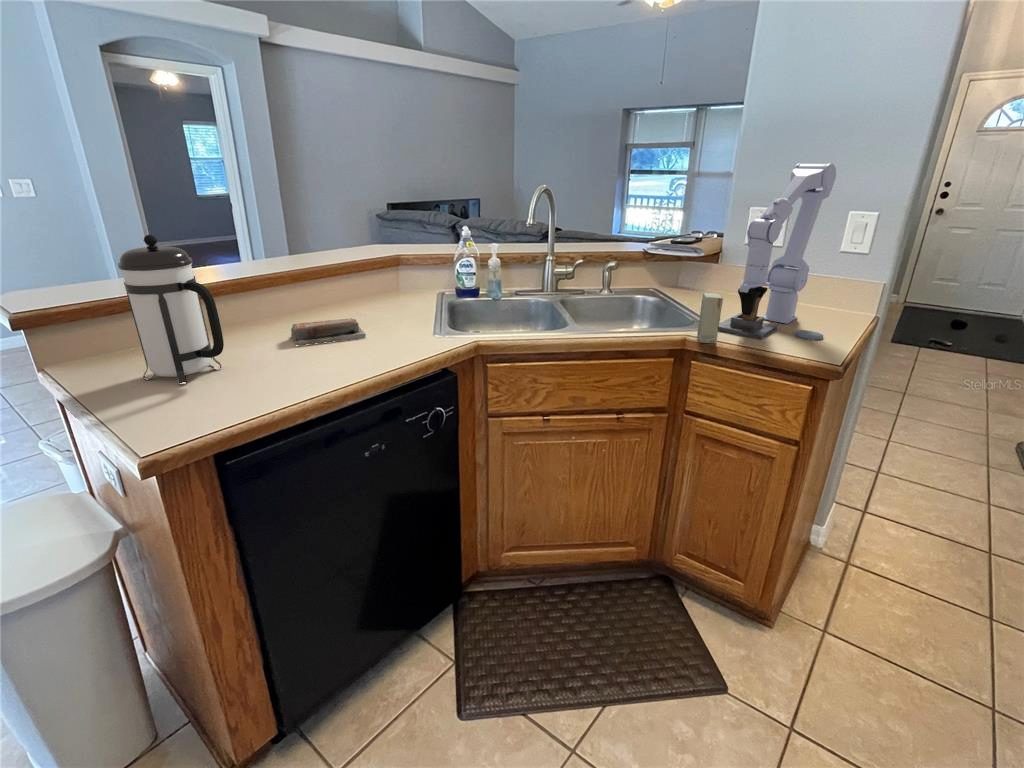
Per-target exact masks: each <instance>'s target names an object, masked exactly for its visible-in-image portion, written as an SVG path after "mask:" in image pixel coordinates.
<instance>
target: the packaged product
mask: <svg viewBox="0 0 1024 768" xmlns="http://www.w3.org/2000/svg"><path fill="white" fill-rule="evenodd" d="M290 331H291V333H290V336H291V339H292V341H293V344H294V346H295V345H306V344H315V343H324V342H332V343H334V342H333V341H340V342H343V341H342V340H347V341H352V340H351V339H355V340H360V339H359V338H362V339H365V338H366V337H367V336H366V332H364V330H362V328H361V327H360V326H359V322H358V321H357V319H356V318H342V319H330V320H329V319H328V320H318V321H310V322H308V321H307V322H299V323H293V324H292V327H291V329H290ZM364 337H365V338H364ZM324 344H325V343H324Z"/></svg>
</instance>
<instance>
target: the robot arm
mask: <svg viewBox="0 0 1024 768" xmlns="http://www.w3.org/2000/svg"><path fill="white" fill-rule="evenodd" d="M836 177H837V168H836V166H835V164H834V163H832V162H830V163H802V162H800V163H797V164H796V165H795V166H794V167H793V169H792V171H791V174H790V183H789V184H788V185H787V187H786V189H785V190H784V192H783V194H782V195H781V197H780V198H776V199H774V200H773V201H772V202H771V203H770V204H769V205H768V207H767V208H766V210H765V211H764V212H763V213H762V214H761V216H760V217H759V218H756V219H754V220H752V221H751V222H750V224H749V225H748V229H747V231H746V236H747V244H746V245H747V247H748V252H747V257H746V263H745V268H744V275H743V278H742V281H741V284H740V286H739V287H740V288H738V289H737V293H738V296H739V299H740V305H741V313H742V314H743V315H748V316H749V315H750V314H751V312H752V310H753V306H754V303H755V301H756V299H757V297H760V301H759V303H760V302H761V300H762V298H763V296H764V295H765V294H766V292H767V291H768V290H770V291H769V297H768V302H767V307H766V312H765V314H764V315H762V316H761V317H764V320H765V321H770V322H776V323H782V324H791V322H793V321H794V320H796V319H798V318H799V317H798V316H797V315H795V314H796V310H797V304H798V301H799V294H798V292H801V291H802V290H803V289H804V288H805V287H806V285H807V283H808V277H809V271H810V266H809V265H808V263H807V262H806V261H805V260H804V258H803V257H804V254H805V251H806V249H807V245H808V243H809V240H810V237H811V234H812V231H813V229H814V225H815V224H816V221H817V218H818V214H819V211H820V209H821V207H822V203H823V200H825V199H827V198H829V197H830V194H831V193H832V189H833V187H834V184H835V182H836V179H837V178H836ZM799 198H800V199H801V204H800V207H799V210H798V214H797V217H796V219H795V222H794V225H793V228H792V231H791V234H790V236H789V240H788V242H787V245H786V248H785V251H784V254H783V255H781V256H780V257H778V258H776V259H774V260H773V261H772V264H771V266H770V261H771V258H772V253H773V252H772V251H773V246H774V243H775V242H776V241H777V240H778V239H779V236H780V234H781V232H782V229H783V224H784V223H785V221H787V219H788V218H789V217H790V215H791V214H792V213H793V205H794V204H795V203H796V201H798V199H799Z"/></svg>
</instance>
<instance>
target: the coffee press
mask: <svg viewBox="0 0 1024 768" xmlns="http://www.w3.org/2000/svg"><path fill="white" fill-rule="evenodd" d="M143 242H144V243H145V244H146V245H147V246H145V247H137V248H133V249H129V250H127V251H125V252H124V253H122V254H121V256H120V258H119V262H118V263H117V267H118V269H119V270H120V271H121V273H122V276H123V280H124V282H123V284H124V289H125V292H126V295H127V299H128V303H129V308H130V310H131V315H132V317H133V321H134V324H135V329H136V332H137V336H138V338H139V343H140V346H141V349H142V350H141V351H142V354H143V357H144V361H145V365H146V370H145V372H144V373H143V379H144V378H145V377H146V376H145V375H147V372H148V370H149V371H150V372H151V373H152V375H153V376H152V375H151V376H152V377H153V378H154V377H155V376H159V377H165V378H166V377H168V378H170V377H177V381H178V384H179V383H182V382H187V378H186V377H187V375H193V374H195V373H198V372H201V371H203V370H205V369H207V368H211V369H213V370H215V369H214V367H215V366H214V365H211V364H212V362H213V361H214V362H215V363H216V364H217V365H219V367H220V368H221V369H222V364H221V362H219V361H218V360H217V359H216V358H215V357H218V356H220V355H221V354H222V352H223V349H224V345H225V344H224V342H225V341H224V336H223V331H222V326H221V321H220V317H219V313H218V309H217V305H216V302H215V299H214V297H213V295H212V294H211V292H210V290H209V289H208V288H207V287H206V286H204V284H201V283H199V282H197V280H196V276H195V275H194V272H193V267H192V264H193V258H192V257H189V255H188V253H187V252H186V251H185V250H184V249H182V248H180V247H175V246H169V245H168V246H167V245H166V246H165V245H162V246H161V245H159V246H158V245H157V243H158V239H157V238H156V236H155V235H153V234H146V235H145V236H144V237H143ZM201 299H202V301H203V302H204V306H205V309H206V313H207V314H206V315H207V319H208V323H209V327H210V333H211V336H212V343H213V346H211V341H210V337H209V333H208V329H207V324H206V320H205V319H206V318H205V315H204V311H203V306H202V301H201Z"/></svg>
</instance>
